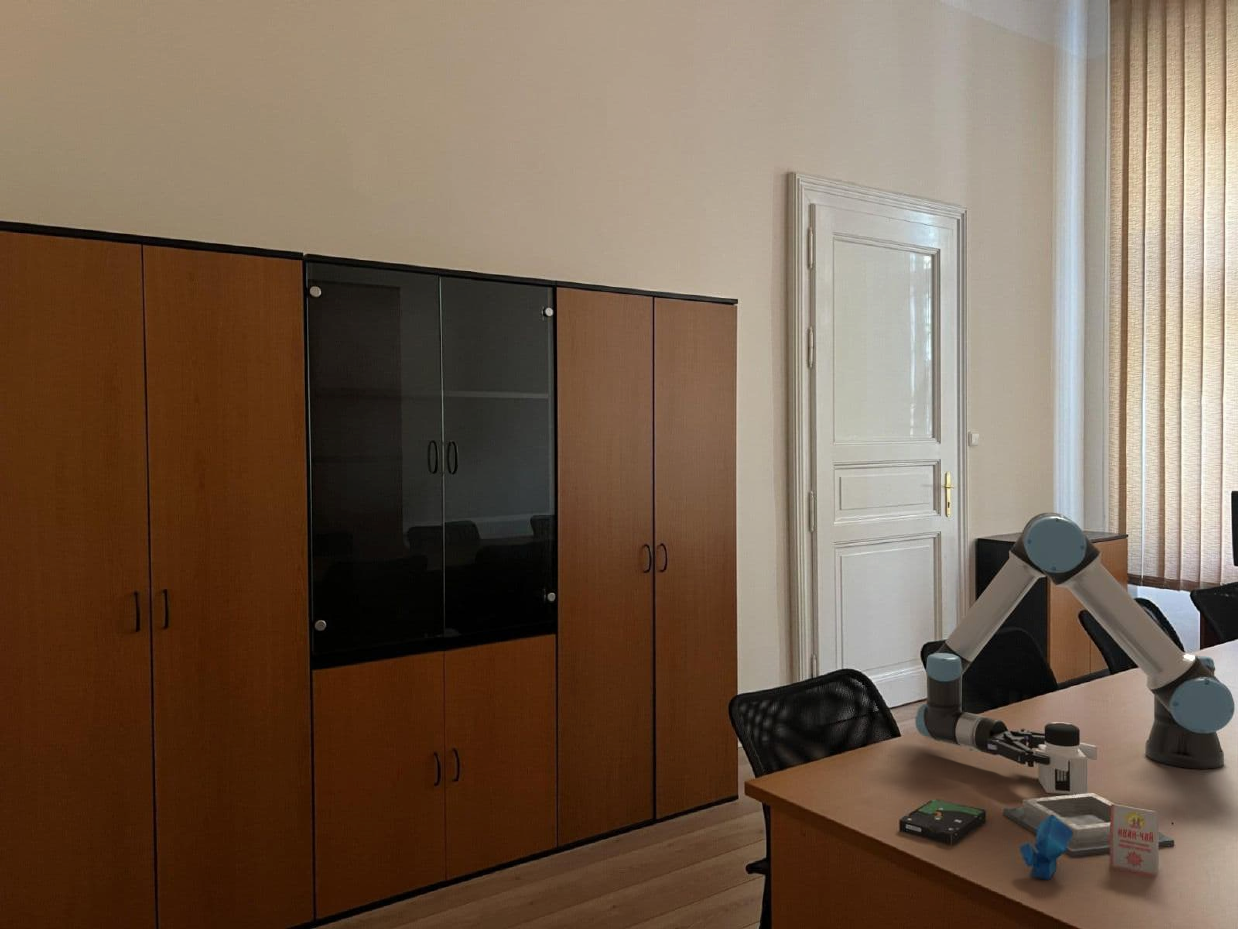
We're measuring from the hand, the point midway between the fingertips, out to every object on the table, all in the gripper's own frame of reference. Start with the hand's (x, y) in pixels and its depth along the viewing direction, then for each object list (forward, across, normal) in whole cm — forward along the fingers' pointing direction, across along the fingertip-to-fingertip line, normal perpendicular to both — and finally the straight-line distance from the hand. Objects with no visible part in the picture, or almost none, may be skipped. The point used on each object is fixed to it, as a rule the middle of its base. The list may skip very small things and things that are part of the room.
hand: (1081, 758), depth 197 cm
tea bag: (+23, +27, -7) cm, 36 cm away
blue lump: (+15, +40, -7) cm, 43 cm away
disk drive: (-7, +36, -8) cm, 38 cm away
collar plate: (+10, +18, -7) cm, 21 cm away
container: (-4, 0, -7) cm, 8 cm away
